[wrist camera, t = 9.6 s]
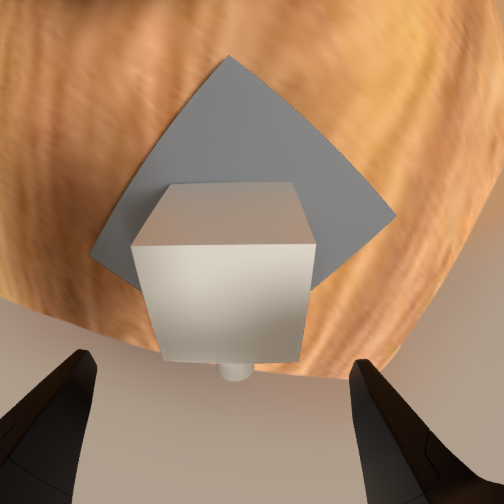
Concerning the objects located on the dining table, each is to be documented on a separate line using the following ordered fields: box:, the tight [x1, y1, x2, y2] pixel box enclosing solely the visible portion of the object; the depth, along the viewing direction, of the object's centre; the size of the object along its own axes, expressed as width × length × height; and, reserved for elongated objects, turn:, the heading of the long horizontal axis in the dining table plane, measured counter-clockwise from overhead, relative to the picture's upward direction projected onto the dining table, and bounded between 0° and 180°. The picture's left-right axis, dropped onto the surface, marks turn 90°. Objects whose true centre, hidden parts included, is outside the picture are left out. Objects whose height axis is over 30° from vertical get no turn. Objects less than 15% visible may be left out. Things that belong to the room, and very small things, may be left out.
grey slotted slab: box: [89, 56, 397, 292], centre depth 15 cm, size 14×12×5 cm
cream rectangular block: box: [131, 182, 316, 382], centre depth 14 cm, size 6×10×6 cm, turn 0°
